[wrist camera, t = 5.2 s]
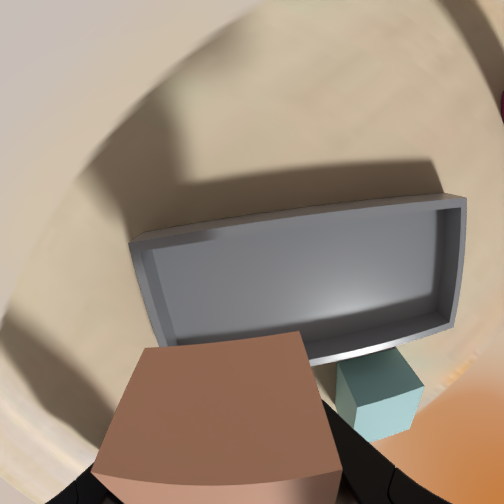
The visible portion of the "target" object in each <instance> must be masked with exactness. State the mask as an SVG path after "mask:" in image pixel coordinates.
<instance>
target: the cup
mask: <svg viewBox="0 0 504 504" xmlns="http://www.w3.org/2000/svg"><path fill="white" fill-rule="evenodd" d="M501 110H502V117H503V121H504V92H503V94H502V99H501Z"/></svg>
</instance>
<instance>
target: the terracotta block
mask: <svg viewBox="0 0 504 504" xmlns="http://www.w3.org/2000/svg"><path fill="white" fill-rule="evenodd" d="M342 470H343V469H342V465H341V462H340V459H339V455H338V452H337V449H336V445H335V442H334V439H333V435H332V432H331V429H330V426H329V422H328V419H327V416H326V413H325V410H324V406H323V403H322V400H321V397H320V394H319V391H318V387H317V384H316V381H315V378H314V375H313V372H312V369H311V366H310V362H309V359H308V356H307V353H306V350H305V347H304V344H303V341H302V338H301V335H300V332H299V331H295V332H289V333H283V334H276V335H270V336H263V337H256V338H248V339H241V340H232V341H224V342H215V343H205V344H194V345H183V346H170V347H155V348H145V349H144V351H143V353H142V355H141V357H140V359H139V361H138V363H137V365H136V368H135V370H134V372H133V374H132V376H131V378H130V380H129V383H128V385H127V387H126V389H125V391H124V394H123V396H122V398H121V400H120V402H119V405H118V407H117V409H116V412H115V414H114V416H113V418H112V421H111V423H110V425H109V428H108V430H107V432H106V435H105V437H104V440H103V442H102V444H101V447H100V449H99V452H98V454H97V457H96V459H95V462H94V464H93V467H92V470H91V473H92V474H93V475H94V476H95V477H96V478H97V479H98V480H99V481H100V482H101V483H102V484H103V485H104V486H105V487H106V488H108V489H109V490H110V491H111V492H112V493H113V494H114V495H115V496H116V497H117V498H119V499H120V500H121V501H122V502H123V503H124V504H335V502H336V497H337V493H338V489H339V484H340V480H341V475H342Z"/></svg>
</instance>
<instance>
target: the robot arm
mask: <svg viewBox="0 0 504 504" xmlns="http://www.w3.org/2000/svg"><path fill="white" fill-rule="evenodd" d="M321 400H322V399H321ZM322 403H323V406H324V410H325V413H326V416H327V419H328V422H329V426H330V429H331V432H332V435H333V439H334V442H335V445H336V449H337V452H338V455H339V459H340V462H341V465H342V469H343V470H342V475H341V480H340V484H339V489H338V493H337V497H336V502H335V504H452V503H450V502H447V501H446V500H444V499H442V498H441V497H439V496H437V495H435V494H433V493H432V492H430V491H428V490H427V489H425V488H423V487H422V486H421V485H419V484H418V483H416V482H415V481H414V480H412V479H411V478H409V477H408V476H407V475H406V474H405V473H403V472H402V471H401V470H400V469H399V468H395V465H393V463H391V462H390V461H389V460H388V459H387V458H386V457H385V456H383V455H382V454H381V453H380V452H379V451H378V450H376V449H375V448H374V447H373V446H372V445H371V444H370V443H369V442H368V441H366V440H365V439H364V438H363V437H362V436H361V435H360V434H359V433H358V432H357V431H355V430H354V429H353V428H352V427H351V426H350V425H349V424H348V423H347V422H346V421H345V420H344V419H343V418H341V417H340V416H339V415H338V414H337V413H336V412H335V411H334V410H333V409H332V408H331V407H330V406H329V405H328V404H327V403H326V402H325V401H324V400H322ZM93 464H94V463H93ZM93 464H92V465H90V466H89V467H88V468H87V469H86V470H85V471H84V472H83V473H82V474H81V475H80V476H79V477H77V478H76V480H74V481H73V482H72V483H71V484H70V485H69V486H67V487H66V488H65V489H64V490H63V491H61V492H60V493H59V494H58V495H56V496H55V497H54V498H52V499H51V500H50V501H48V502H47V503H45V504H124V503H123V502H122V501H121V500H120V499H119V498H117V497H116V496H115V495H114V494H113V493H112V492H111V491H110V490H109V489H108V488H106V487H105V486H104V485H103V484H102V483H101V482H100V481H99V480H98V479H97V478H96V477H95V476H94V475H93V474H92V473H91V470H92V467H93Z"/></svg>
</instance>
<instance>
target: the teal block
mask: <svg viewBox="0 0 504 504" xmlns="http://www.w3.org/2000/svg"><path fill="white" fill-rule="evenodd" d="M423 389H424V385H423V383H422V382H421V381H420V379H419V378H418V376H417V375H416V374H415V372H414V371H413V370H412V368H411V367H410V365H409V364H408V363H407V361H406V360H405V359H404V357H403V356H402V355H401V353H400V352H399V351H398V349H397V348H392V349H389V350H385V351H381V352H378V353H374V354H370V355H366V356H362V357H357V358H353V359H349V360H344V361H339V362H337V380H336V397H335V406H336V409H337V412H338V415H339V416H340V417H341V418H343V419H344V420H345V421H346V422H347V423H348V424H349V425H350V426H351V427H352V428H353V429H354V430H355V431H357V432H358V433H359V434H360V435H361V436H362V437H363V438H364V439H365V440H366V441H368V442H373V441H376V440H379V439H382V438H385V437H388V436H391V435H394V434H397V433H400V432H402V431H405V430H408V429H409V428H410V426H411V423H412V421H413V418H414V415H415V413H416V410H417V407H418V404H419V401H420V398H421V395H422V392H423Z"/></svg>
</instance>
